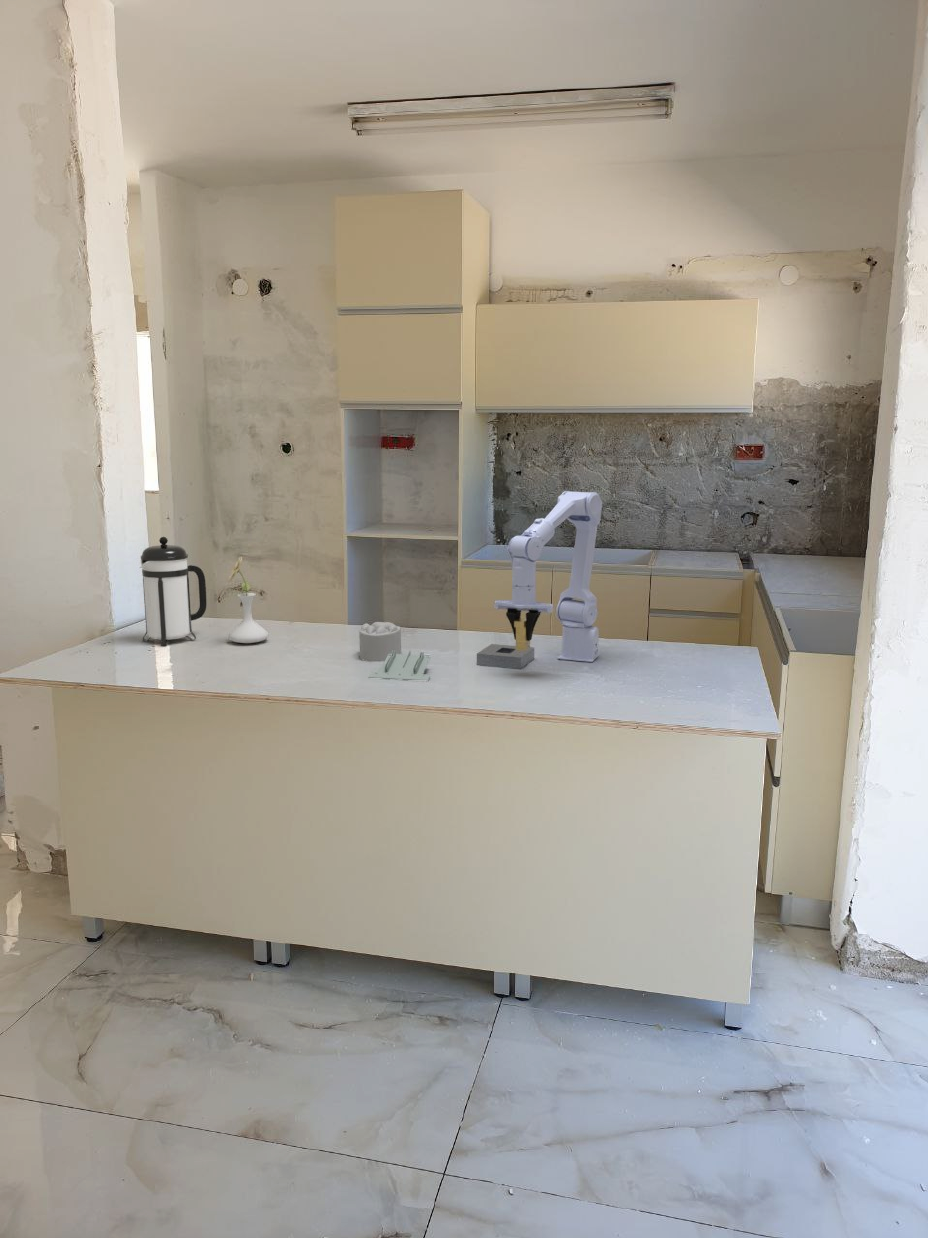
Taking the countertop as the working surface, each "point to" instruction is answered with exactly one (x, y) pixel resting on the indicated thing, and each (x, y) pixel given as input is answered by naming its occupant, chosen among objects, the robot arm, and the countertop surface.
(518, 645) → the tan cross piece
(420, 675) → the metal bracket
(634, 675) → the countertop surface
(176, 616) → the coffee press
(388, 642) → the lumpy-topped squat cylinder
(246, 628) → the flower in vase
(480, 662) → the metal plate with slot
